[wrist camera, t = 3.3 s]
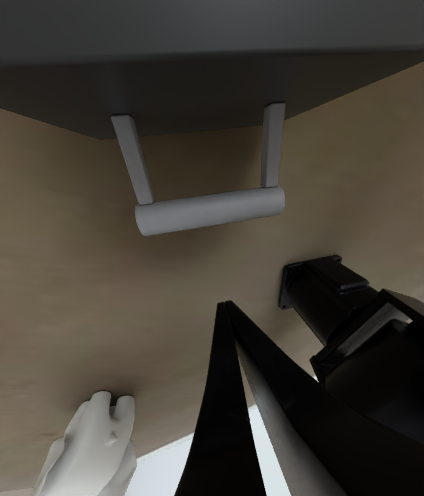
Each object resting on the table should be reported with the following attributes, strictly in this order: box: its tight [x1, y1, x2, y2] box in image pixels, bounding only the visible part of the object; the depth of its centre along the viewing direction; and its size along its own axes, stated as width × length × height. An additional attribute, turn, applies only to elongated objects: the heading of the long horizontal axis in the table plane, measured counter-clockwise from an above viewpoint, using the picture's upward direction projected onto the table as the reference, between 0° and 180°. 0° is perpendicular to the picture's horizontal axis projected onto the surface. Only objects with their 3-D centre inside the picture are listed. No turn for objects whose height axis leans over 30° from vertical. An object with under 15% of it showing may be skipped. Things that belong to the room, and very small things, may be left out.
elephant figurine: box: [30, 391, 137, 496], centre depth 19 cm, size 10×12×9 cm
